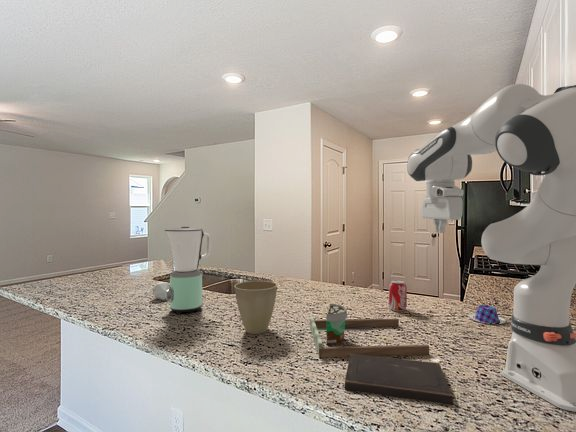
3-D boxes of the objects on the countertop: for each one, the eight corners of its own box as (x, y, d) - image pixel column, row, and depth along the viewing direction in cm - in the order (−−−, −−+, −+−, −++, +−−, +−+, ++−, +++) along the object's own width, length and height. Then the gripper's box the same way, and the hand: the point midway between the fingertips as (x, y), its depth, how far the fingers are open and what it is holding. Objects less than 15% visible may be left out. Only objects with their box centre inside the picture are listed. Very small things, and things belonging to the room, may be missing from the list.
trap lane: (429, 355, 94) (429, 341, 94) (319, 358, 92) (318, 343, 92) (397, 326, 118) (397, 314, 118) (309, 327, 116) (309, 315, 116)
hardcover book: (350, 361, 91) (350, 353, 91) (439, 371, 85) (439, 363, 85) (344, 392, 76) (344, 382, 76) (452, 407, 70) (453, 397, 70)
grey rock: (156, 297, 159) (146, 284, 153) (172, 287, 162) (163, 274, 156) (160, 307, 153) (150, 294, 147) (177, 296, 156) (168, 283, 150)
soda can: (395, 313, 132) (395, 283, 131) (385, 308, 138) (385, 280, 138) (410, 311, 134) (410, 282, 133) (399, 306, 140) (400, 279, 140)
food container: (346, 348, 98) (346, 315, 98) (326, 347, 99) (326, 314, 99) (348, 333, 110) (348, 304, 110) (330, 332, 111) (330, 303, 111)
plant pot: (285, 327, 116) (285, 283, 116) (261, 342, 103) (261, 292, 103) (251, 320, 124) (251, 278, 123) (225, 333, 111) (225, 286, 111)
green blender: (168, 317, 127) (168, 228, 126) (162, 309, 138) (161, 226, 138) (216, 310, 137) (215, 226, 136) (206, 302, 148) (205, 225, 147)
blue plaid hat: (513, 326, 117) (513, 311, 117) (479, 325, 118) (479, 311, 118) (493, 315, 129) (493, 302, 129) (462, 315, 130) (462, 302, 130)
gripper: (417, 193, 121) (417, 230, 121) (447, 190, 100) (446, 234, 100) (434, 193, 121) (433, 230, 121) (466, 190, 100) (466, 234, 101)
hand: (439, 232), depth 111 cm, fingers closed
